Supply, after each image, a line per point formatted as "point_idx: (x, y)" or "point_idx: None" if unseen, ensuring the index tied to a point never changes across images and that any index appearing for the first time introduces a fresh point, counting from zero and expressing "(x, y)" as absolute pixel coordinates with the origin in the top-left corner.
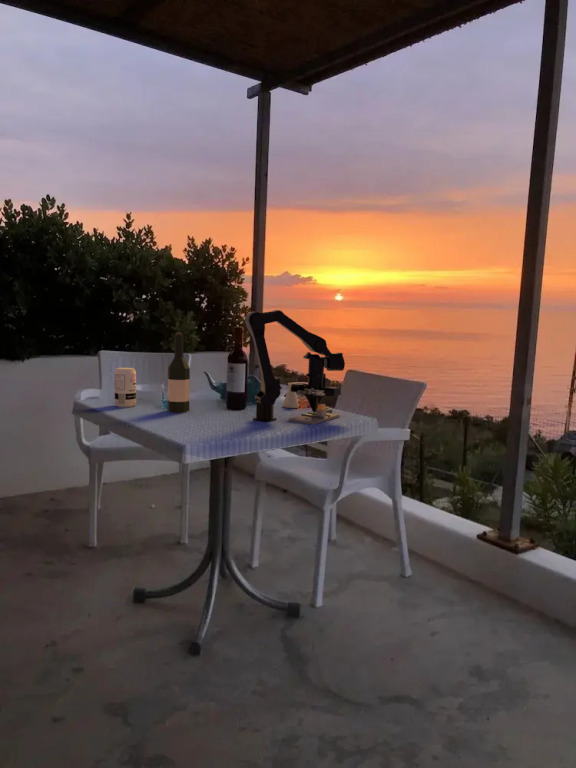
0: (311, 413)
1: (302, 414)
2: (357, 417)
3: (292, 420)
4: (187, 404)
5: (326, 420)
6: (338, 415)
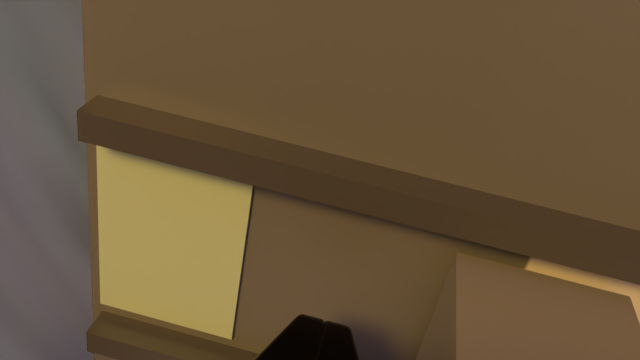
0: (196, 162)
1: (121, 353)
2: None
3: None
4: None
5: None
6: None
